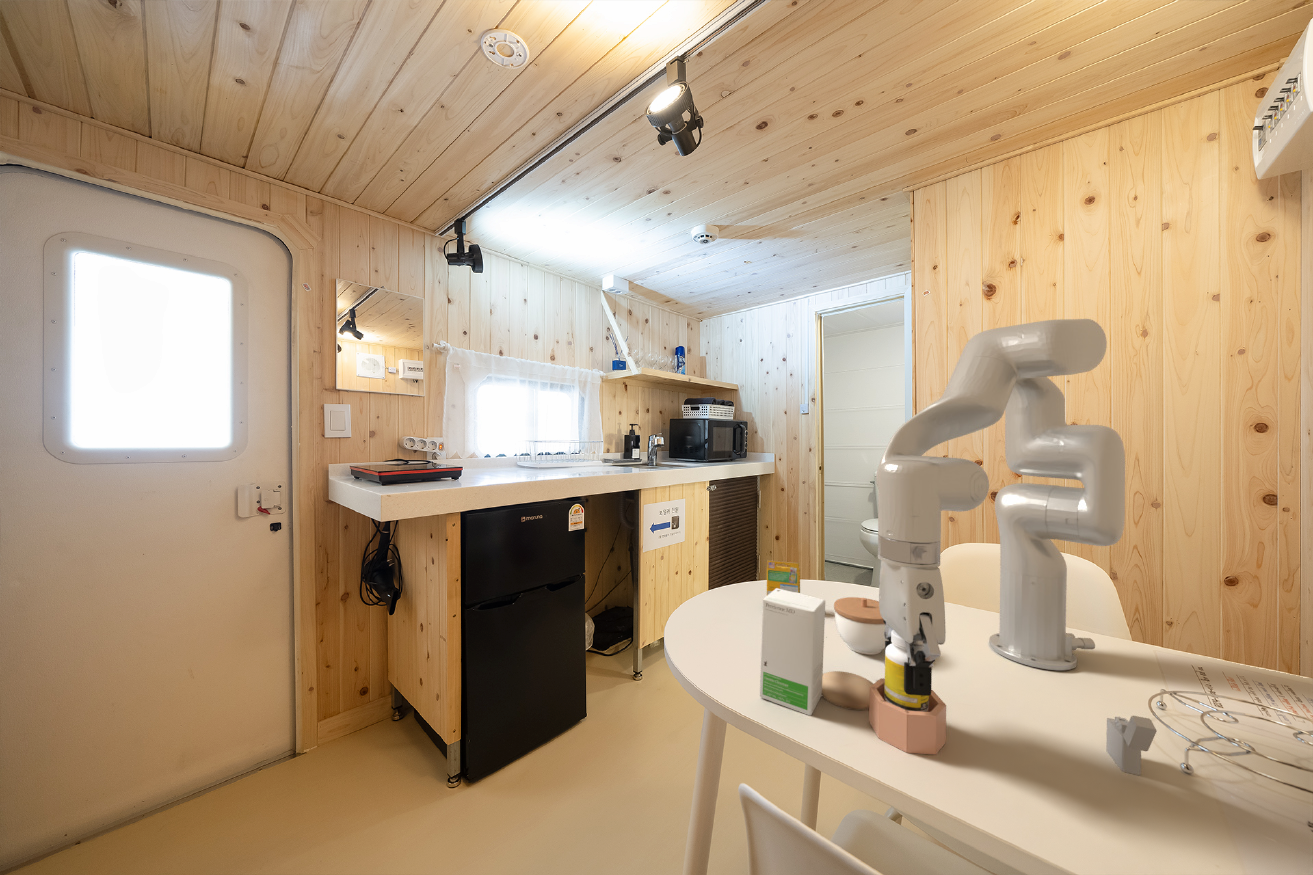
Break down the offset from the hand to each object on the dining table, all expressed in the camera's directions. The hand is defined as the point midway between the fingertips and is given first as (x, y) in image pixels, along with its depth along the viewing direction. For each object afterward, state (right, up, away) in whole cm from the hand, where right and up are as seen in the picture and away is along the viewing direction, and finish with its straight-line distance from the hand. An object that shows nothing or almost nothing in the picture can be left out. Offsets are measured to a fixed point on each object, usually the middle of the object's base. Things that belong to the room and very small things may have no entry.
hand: (906, 679), depth 63 cm
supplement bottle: (0, -4, 0) cm, 4 cm away
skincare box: (-13, -7, +8) cm, 17 cm away
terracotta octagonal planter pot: (0, -7, 0) cm, 7 cm away
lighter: (+23, -8, -7) cm, 26 cm away
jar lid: (-4, -7, +10) cm, 13 cm away
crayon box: (-5, -7, +43) cm, 44 cm away
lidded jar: (+5, -7, +25) cm, 26 cm away
